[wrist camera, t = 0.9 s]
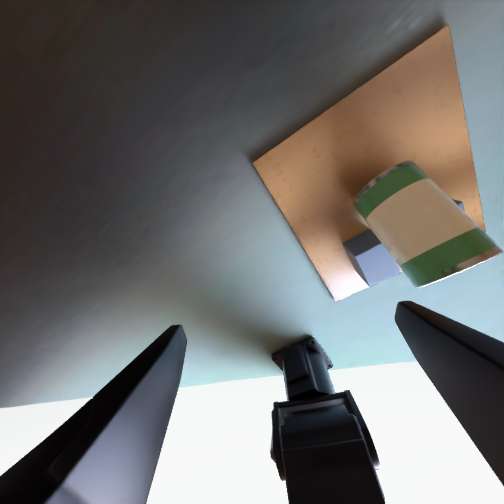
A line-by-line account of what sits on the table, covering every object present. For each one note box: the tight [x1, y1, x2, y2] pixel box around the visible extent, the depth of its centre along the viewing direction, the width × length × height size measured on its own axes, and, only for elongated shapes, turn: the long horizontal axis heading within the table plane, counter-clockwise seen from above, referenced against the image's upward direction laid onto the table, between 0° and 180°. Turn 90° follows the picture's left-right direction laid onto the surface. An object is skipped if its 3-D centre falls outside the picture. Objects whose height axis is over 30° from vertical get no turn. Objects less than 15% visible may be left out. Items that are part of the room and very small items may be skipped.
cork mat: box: [253, 25, 486, 302], centre depth 20 cm, size 18×16×1 cm
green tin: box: [353, 161, 503, 288], centre depth 16 cm, size 9×5×9 cm, turn 33°
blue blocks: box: [342, 199, 465, 287], centre depth 20 cm, size 4×9×3 cm, turn 123°
